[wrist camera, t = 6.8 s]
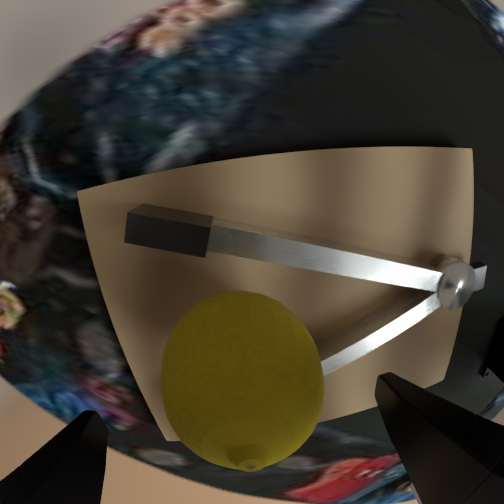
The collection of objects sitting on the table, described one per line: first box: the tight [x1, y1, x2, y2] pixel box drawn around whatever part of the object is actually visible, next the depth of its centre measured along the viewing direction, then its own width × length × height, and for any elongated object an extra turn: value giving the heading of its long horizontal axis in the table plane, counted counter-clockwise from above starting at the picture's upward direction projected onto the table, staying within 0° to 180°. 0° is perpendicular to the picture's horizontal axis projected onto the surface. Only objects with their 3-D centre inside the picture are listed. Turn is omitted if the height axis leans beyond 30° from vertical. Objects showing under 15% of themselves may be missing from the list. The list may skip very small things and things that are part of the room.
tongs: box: [124, 204, 487, 376], centre depth 13 cm, size 17×12×2 cm
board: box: [77, 147, 474, 441], centre depth 15 cm, size 20×16×1 cm
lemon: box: [160, 291, 324, 471], centre depth 10 cm, size 6×6×8 cm
